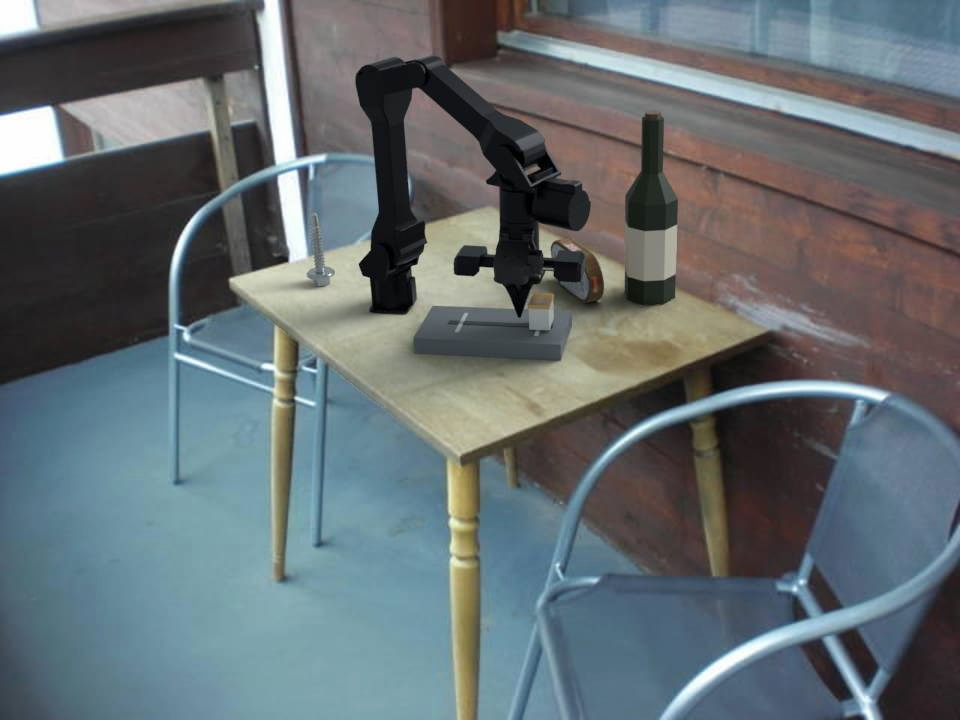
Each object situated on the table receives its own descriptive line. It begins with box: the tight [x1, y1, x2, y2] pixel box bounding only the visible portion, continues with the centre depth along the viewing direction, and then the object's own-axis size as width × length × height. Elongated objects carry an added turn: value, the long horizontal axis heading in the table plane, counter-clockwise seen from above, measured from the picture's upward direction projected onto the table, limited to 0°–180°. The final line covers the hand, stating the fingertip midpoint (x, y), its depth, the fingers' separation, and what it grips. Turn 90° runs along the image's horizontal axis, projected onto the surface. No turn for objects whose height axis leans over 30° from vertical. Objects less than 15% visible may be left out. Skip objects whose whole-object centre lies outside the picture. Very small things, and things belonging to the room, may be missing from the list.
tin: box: [550, 236, 605, 304], centre depth 187 cm, size 15×3×8 cm, turn 22°
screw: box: [306, 211, 336, 288], centre depth 195 cm, size 13×5×5 cm
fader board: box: [412, 305, 573, 361], centre depth 174 cm, size 22×12×3 cm, turn 78°
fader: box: [527, 292, 555, 330], centre depth 171 cm, size 3×4×4 cm
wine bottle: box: [624, 109, 679, 306], centre depth 180 cm, size 8×8×30 cm
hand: (520, 316), depth 171 cm, fingers closed
